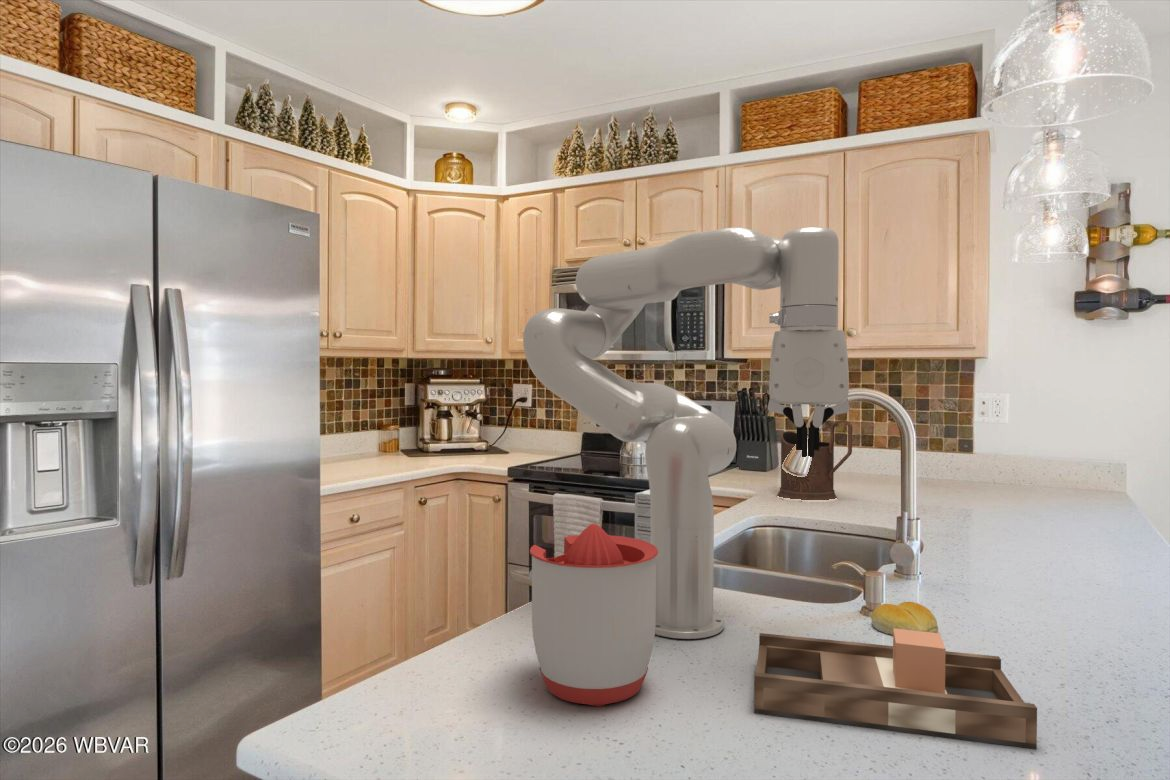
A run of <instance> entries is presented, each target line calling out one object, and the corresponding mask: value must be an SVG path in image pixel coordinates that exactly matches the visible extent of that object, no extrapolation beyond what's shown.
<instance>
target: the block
mask: <svg viewBox="0 0 1170 780" xmlns="http://www.w3.org/2000/svg"><path fill="white" fill-rule="evenodd" d="M892 646H893V674H894V681H895V687H898V688H906V689H913V690H920V691H927V692H934V693H943V694H945V651H946V645H945V643H944V641H943V638H942V636H941V633H940V632H937V633H931V632H922V631H914V630H905V629H896V628H893V635H892Z"/></svg>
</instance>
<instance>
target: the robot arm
mask: <svg viewBox="0 0 1170 780" xmlns="http://www.w3.org/2000/svg"><path fill="white" fill-rule="evenodd" d="M839 245H840V244H839V237H838V234H837V233H836V231H835V230H833V229H831V228H828V227H820V226H818V227H817V226H816V227H815V226H814V227H811V226H810V227H809V226H808V227H802V228H795V229H791V230H790V231H787V232H786V233H784V235H783V236H782V238H778V237H777V238H776V237H772V236H769V235H765V234H763V233H760V232H759V231H756V230H753V229H750V228H748V227H747V228H746V227H741V226H739V227H738V226H735V227H725V228H720V229H712V230H707V231H701V232H696V233H690V234H687V235H683V236H680V237H677V238H676V239H674V240H672V241H669V242H667V243H665V244H663V245H662V244H661V245H657V246H652V247H646V248H641V249H635V250H628V251H623V252H616V253H609V254H604V255H603V254H602V255H599V256H594V257H592V258H590V259H588V260H587V261H585V262H583V264H582V265H581V266H580V267H579V268H578V270H577V273H576V277H575V287H576V290H577V293H578V295H579V296H580V298H581V300H583V301H584V303H586V304H589V306H588V307H587V308H586V310H578V309H570V308H569V309H568V308H562V307H561V308H558V307H557V308H554V307H553V308H547V309H543V310H540V311H538V312H536V313H535V314H534V315H532V316H531V317H530V318H529V319H528V321H527V322H526V324H525V326H524V330H523V335H522V339H523V340H522V341H523V351H524V355H525V359H526V362H527V364H528V366H529V368H530V370H531V371H532V373H533V375H534V376H535V378H536V379H537V380H538V381H539V382H540V383H541V384H542V385H543V386H544V387H545V388H546V389H547V390H548V391H550V392H551V393H553V394H554V395H556V396H557V397H559V398H560V399H561V400H563V401H564V402H566V403H567V404H569V405H570V406H572V407H573V408H574V409H576V410H577V411H579V412H580V413H581V414H583V415H584V416H585V417H586V418H588V419H589V420H591V421H592V422H593V423H595V424H597V426H599V427H600V428H602V429H603V430H605V431H606V432H608V433H609V434H610V435H612V436H613V437H614V438H616V439H617V440H620V441H623V442H626V443H638V442H639V443H640V442H644V441H645V442H646V443H645V449H644V450H645V451H644V457H645V466H646V473H647V477H648V487H649V489H650V505H651V544H653V545H654V546H655V547H656V548H657V550H658V554H657V556H656V623H655V636H661V637H665V638H670V639H679V640H696V639H705V638H709V637H713V636H715V635H718V634H720V633H721V632H722V631H723V630H724V628H725V620H724V618H723V616H722V615H721V614H720V613H718V612H717V611H714V587H715V586H714V579H715V578H714V577H715V576H714V573H715V572H714V571H715V570H714V567H715V566H714V565H715V563H714V560H715V559H714V558H715V557H714V556H715V554H714V553H715V552H714V549H715V546H714V543H715V531H714V530H715V520H714V519H715V518H714V517H715V515H714V513H715V511H714V510H715V509H714V499H713V498H714V497H713V493H712V489H711V484H710V479H709V476H710V475H713V474H715V473H719V472H721V471H723V470H724V469H726V468H727V467H728V466H729V465H730V464H731V463H732V461H733V460H734V458H735V456H736V454H737V453H736V452H737V439H736V436H735V433H734V432H733V429H732V428H731V426H730V425H729V424H728V423H727V422H726V421H725V420H724V419H722V418H721V417H720V416H718V415H717V414H715V413H714V412H712V411H710V410H709V409H707V408H706V407H704V406H702V405H701V404H699V403H697V402H696V401H694V400H693V399H691V398H689V397H688V396H686V395H684V394H683V393H681V392H680V391H678V390H677V389H674V388H673V387H671V386H669V385H665V384H661V383H656V382H634V381H631V380H628V379H626V378H624V377H622V376H621V375H620V374H617V373H616V372H614V371H612V370H611V369H609V368H608V367H607V366H606V365H603V364H602V363H600V362H598V361H596V360H594V359H597V358H599V357H601V356H603V355H604V354H605V353H607V351H609V350H610V349H611V348H612V346H614V344H615V343H616V342H617V340H618V339H620V337H621V336H622V334H623V333H624V332H625V331H626V330H627V329H628V327H629V326H630V325H631V324H632V323H633V321H634V320H635V319H636V318H637V316H639V314H640V312H641V311H642V310H643V308H644V307H645V305H646V304H654V303H656V304H657V303H666V302H671V301H673V300H675V299H676V298H677V297H678V295H679V294H680V292H681V291H684V290H686V289H693V288H697V287H705V286H707V287H708V286H714V285H715V286H716V285H725V284H735V285H739V286H743V287H745V288H749V289H754V290H757V291H758V290H759V291H761V290H762V291H765V290H771V289H775V288H780V289H779V291H780V293H779V294H780V295H779V296H780V298H779V299H780V302H779V303H780V304H779V305H780V306H779V308H780V309H779V310H778V311H777V312H774V313H769V317H768V318H769V324H774V325H777V326H779V327H780V329H779V330H777V331H774V333H773V338H772V343H771V353H770V363H769V364H770V365H769V382H768V383H769V384H768V387H769V400H768V403H767V410H768V412H771V413H776V414H779V415H783V416H784V415H785V417H786V418H787V419H788V420H789V421H791V423H792V424H794V426H795V427H796V433H797V436H796V450H802V457H806V456H807V438H808V456H810V457H814V451H819V441H820V436H821V435H820V431H821V429H820V428H821V427H822V425H823V424H825V423H826V422H827V421H828V420H829V419H830V418H831V417H832V416H833V417H834V416H837V415H842V414H846V413H849V412H850V410H851V406H850V402H849V399H848V398H849V393H850V390H849V389H850V384H849V383H850V379H849V378H850V377H849V358H848V357H849V356H848V346H847V341H846V334H845V330H842V329H839V260H840V259H839V258H840V257H839V253H840V251H839V249H840V247H839ZM787 405H791V406H787ZM802 405H812V406H814V408H813V415H812V420H811V421H810V422H809V426H808V427H807V422H806V421H805V420H804V417H803V415H804V414H803V409H802ZM826 405H830V406H827V407H826ZM831 405H832V406H831Z"/></svg>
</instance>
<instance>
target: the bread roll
mask: <svg viewBox="0 0 1170 780" xmlns="http://www.w3.org/2000/svg"><path fill="white" fill-rule="evenodd" d="M871 623H872V625H873V628H874V629H875V630H877V631H878V632H881V633H884V634H887V635H891V636H893V628H896V629H905V630H914V631H922V632H931V633H939V626H938V625H939V624H938V620H937V619H936V617H935V615H934V614H933V613H932V611H931V610H930V609H929V608H928V607H926V606H924V605H922V604H921V603H918V602H914V601H903V602H900V603H899V604H897V605H895V604H892V603H883V604H881V605H878V606H876V607H875V608H874V609H873V611H872V613H871Z"/></svg>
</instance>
